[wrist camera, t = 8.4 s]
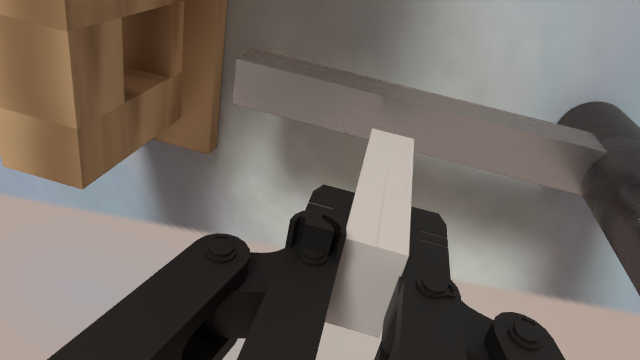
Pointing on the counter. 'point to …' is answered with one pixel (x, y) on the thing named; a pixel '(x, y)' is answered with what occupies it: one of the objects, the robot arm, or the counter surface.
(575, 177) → the hook rod
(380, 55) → the counter surface
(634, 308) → the counter surface
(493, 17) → the counter surface
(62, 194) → the counter surface
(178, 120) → the eye block
